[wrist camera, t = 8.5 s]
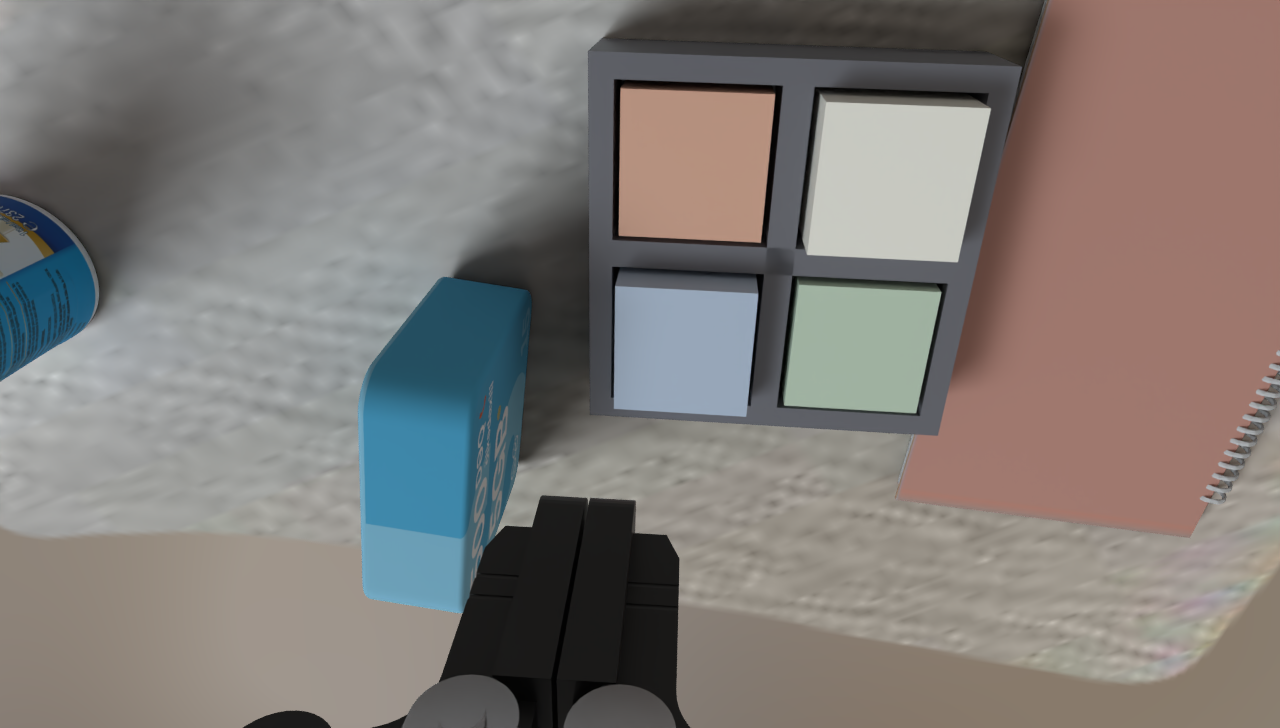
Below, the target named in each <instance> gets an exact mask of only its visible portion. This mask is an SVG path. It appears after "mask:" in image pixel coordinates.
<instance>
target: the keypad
mask: <svg viewBox="0 0 1280 728" xmlns="http://www.w3.org/2000/svg"><path fill="white" fill-rule="evenodd" d="M1021 70H1022V66H1019V65H1017V64H1015V63H1012V62H1010V61H1008V60H1005V59H1003V58H1000V57H998V56H996V55H993V54H991V53H988V52H980V51H951V50H923V49H894V48H865V47H837V46H808V45H779V44H751V43H722V42H694V41H665V40H636V39H608V38H602V39H601V40H600V41H599V42H597V43H596V44H595V45H594V46H593V47H592V48H591V49H590V50H589V51H588V113H589V331H590V415H605V416H622V417H638V418H654V419H671V420H687V421H703V422H720V423H736V424H752V425H768V426H785V427H801V428H817V429H834V430H850V431H866V432H883V433H899V434H915V435H932V436H938V433H939V429H940V425H941V420H942V416H943V412H944V407H945V403H946V398H947V394H948V390H949V385H950V381H951V376H952V372H953V368H954V363H955V359H956V355H957V350H958V346H959V341H960V337H961V333H962V328H963V324H964V319H965V315H966V311H967V306H968V302H969V298H970V293H971V289H972V284H973V280H974V276H975V271H976V267H977V263H978V258H979V254H980V249H981V245H982V241H983V236H984V232H985V227H986V223H987V219H988V214H989V210H990V206H991V201H992V197H993V192H994V188H995V184H996V179H997V175H998V170H999V166H1000V162H1001V157H1002V153H1003V149H1004V144H1005V140H1006V135H1007V131H1008V127H1009V122H1010V118H1011V113H1012V109H1013V105H1014V100H1015V96H1016V92H1017V87H1018V83H1019V78H1020V74H1021ZM625 80H650V81H677V82H703V83H730V84H756V85H772V88H773V90H774V93H775V102H774V112H773V122H772V133H771V143H770V153H769V163H768V174H767V184H766V194H765V205H764V215H763V225H762V236H761V243H758V242H737V241H717V240H696V239H676V238H655V237H635V236H619V172H620V94H621V87H622V85H623V84H624V82H625ZM816 87H836V88H862V89H889V90H915V91H942V92H965V93H967V94H969V95H970V96H972V97H973V98H975V99H977V100H978V101H980V102H982V103H983V104H985V105H986V106H988V107H990V108H991V111H990V116H989V121H988V125H987V130H986V134H985V139H984V144H983V148H982V153H981V158H980V162H979V167H978V171H977V176H976V181H975V185H974V190H973V195H972V199H971V204H970V208H969V213H968V218H967V222H966V227H965V231H964V236H963V241H962V245H961V250H960V255H959V259H958V262H940V261H920V260H900V259H879V258H859V257H839V256H818V255H807V253H806V250H805V246H804V243H803V240H802V236H801V233H800V230H799V223H800V215H801V206H802V198H803V189H804V181H805V172H806V164H807V156H808V147H809V139H810V130H811V122H812V113H813V105H814V97H815V88H816ZM620 267H632V268H652V269H672V270H691V271H711V272H731V273H750V274H756V279H757V287H758V303H757V313H756V323H755V333H754V343H753V353H752V363H751V374H750V384H749V394H748V404H747V414H746V417H741V416H724V415H708V414H691V413H675V412H658V411H642V410H625V409H614V348H615V285H616V281H617V278H618V274H619V271H620ZM792 276H809V277H829V278H849V279H868V280H888V281H908V282H927V283H936V284H937V286H938V288H939V289H940V291H941V297H940V302H939V306H938V311H937V316H936V321H935V325H934V330H933V335H932V340H931V344H930V349H929V354H928V359H927V363H926V368H925V373H924V378H923V382H922V387H921V392H920V397H919V401H918V406H917V411H916V413H902V412H885V411H868V410H852V409H835V408H818V407H802V406H785V405H784V400H783V394H782V387H781V381H780V376H781V367H782V359H783V350H784V342H785V333H786V325H787V316H788V308H789V299H790V291H791V282H792Z"/></svg>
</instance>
